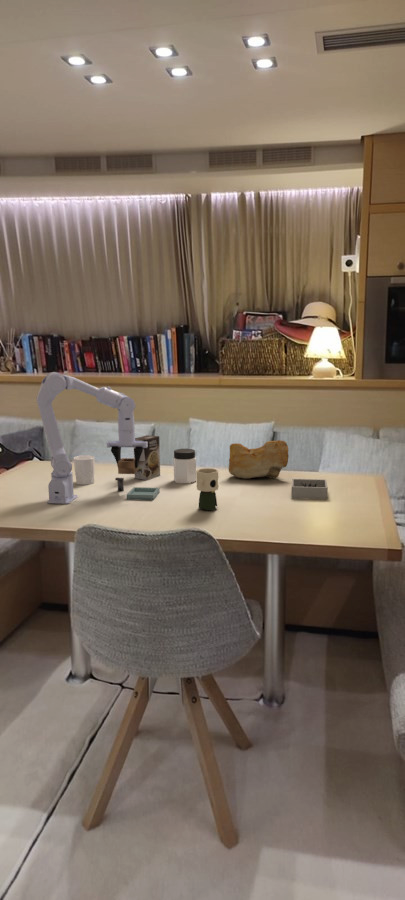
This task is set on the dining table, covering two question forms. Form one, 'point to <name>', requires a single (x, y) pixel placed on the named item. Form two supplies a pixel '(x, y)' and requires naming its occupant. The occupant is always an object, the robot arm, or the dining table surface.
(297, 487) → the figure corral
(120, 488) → the dark grey rounded piece
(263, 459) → the rough brown rock
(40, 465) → the dining table surface
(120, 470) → the collar
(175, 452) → the jar
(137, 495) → the tray
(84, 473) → the white cup
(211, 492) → the character mug
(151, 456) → the coffee box
